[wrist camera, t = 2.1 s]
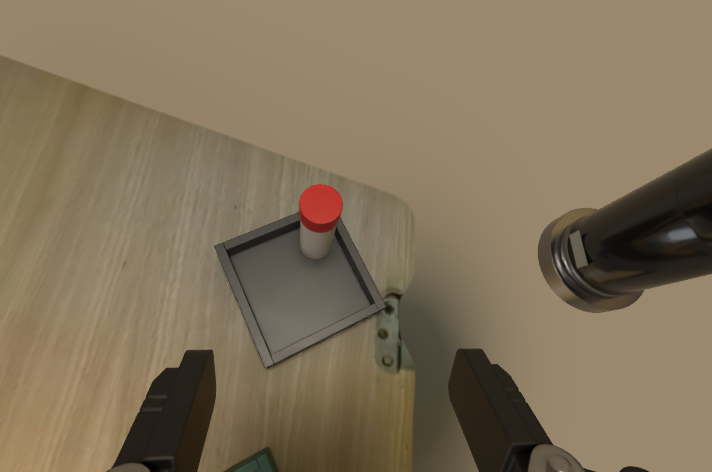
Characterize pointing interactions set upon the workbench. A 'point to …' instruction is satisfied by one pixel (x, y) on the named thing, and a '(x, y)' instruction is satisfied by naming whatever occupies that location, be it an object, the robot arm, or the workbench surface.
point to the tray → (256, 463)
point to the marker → (318, 220)
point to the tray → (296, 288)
